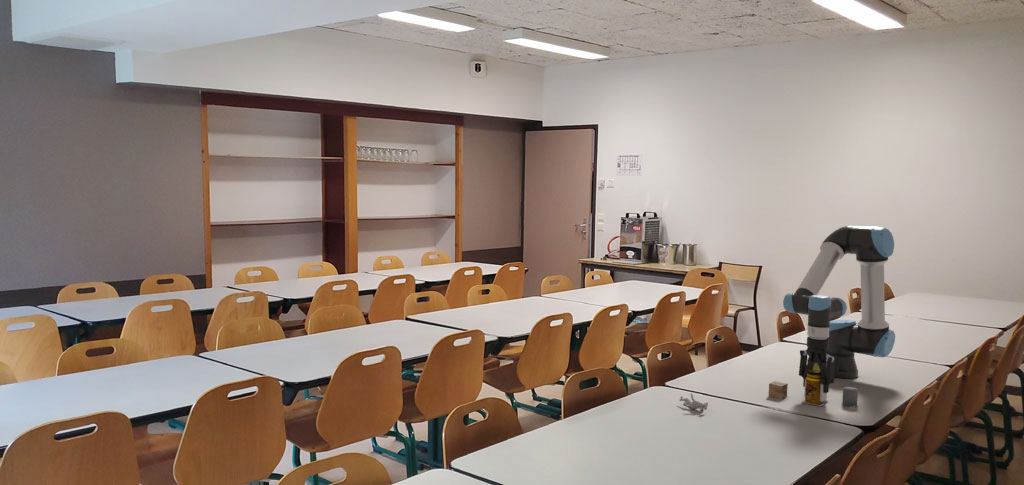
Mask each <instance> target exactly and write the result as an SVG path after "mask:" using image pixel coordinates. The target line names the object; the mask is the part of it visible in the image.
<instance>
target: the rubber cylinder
mask: <svg viewBox="0 0 1024 485" xmlns="http://www.w3.org/2000/svg"><path fill="white" fill-rule="evenodd" d="M858 393H859V389H858V388H857V387H853V386H844V387H842V402H841V403H842V404H841V405H843V406H845V405H846V407H850V406H852V407H853V406H855V407H858V397H859V396H858ZM853 408H854V407H853Z"/></svg>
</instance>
